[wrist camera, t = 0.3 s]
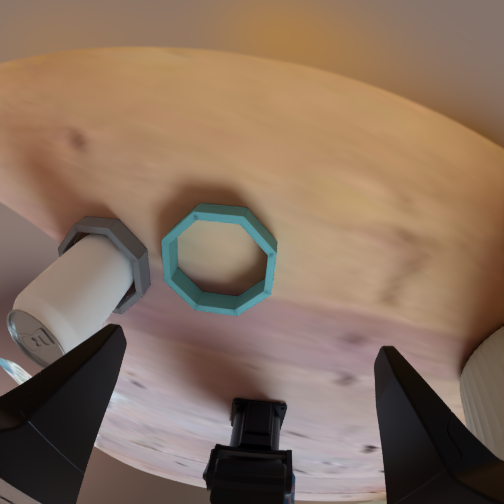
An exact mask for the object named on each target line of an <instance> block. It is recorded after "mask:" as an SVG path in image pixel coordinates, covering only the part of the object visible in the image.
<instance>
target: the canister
mask: <svg viewBox="0 0 504 504" xmlns="http://www.w3.org/2000/svg"><path fill="white" fill-rule="evenodd" d="M460 396H461V401H462V406H463V411H464V416H465V421H466V425H467V429H468V430H469V431H470V432H471V433H472V434H473V435H474V436H475V437H476V438H477V439H478V440H480V441H481V442H482V443H483V444H484V445H485V446H486V447H487V448H488V449H489V450H490V451H491V452H492V453H493V454H494V455H495V456H497V457H498V458H500V459H501V460H503V461H504V327H501V328H500V329H499V330H497V331H495V332H494V333H493V334H492V335H490V336H489V337H488V338H487V339H486V340H484V342H483V343H482V344H481V345H479V347H478V348H477V349H476V350H475V351H474V353H473V354H472V355H471V356H470V358H469V360H468V361H467V362H466V365H465V367H464V369H463V372H462V374H461V379H460Z"/></svg>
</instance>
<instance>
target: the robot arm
mask: <svg viewBox="0 0 504 504" xmlns="http://www.w3.org/2000/svg"><path fill="white" fill-rule="evenodd" d="M126 345H127V343H126V338H125V336H124V333H123V330H122V327H121V326H120V325H118V324H112V323H111V324H108V325H107V326H105V327H104V328H102V329H101V330H99V331H98V332H96V333H95V334H94V335H92V336H91V337H89V338H88V339H86V340H85V341H83V342H82V343H80V344H79V345H78V346H76V347H75V348H73V349H72V350H70V351H69V352H67V353H66V354H65V355H63V356H62V357H60V358H59V359H57V360H56V361H54V362H53V363H52V364H50V365H49V366H47V367H46V368H44V369H43V370H42V371H41V372H39V373H37V374H36V375H35V376H33V377H32V378H30V379H29V380H27V381H26V382H24V383H23V384H21V385H19V386H18V387H16V388H14V389H13V390H11V391H9V392H8V393H6V394H4V395H3V396H1V397H0V504H76V501H77V498H78V494H79V491H80V487H81V484H82V481H83V478H84V473H85V471H86V467H87V464H88V460H89V458H90V455H91V452H92V448H93V446H94V443H95V440H96V437H97V434H98V431H99V428H100V426H101V423H102V420H103V417H104V414H105V412H106V409H107V406H108V403H109V401H110V398H111V395H112V393H113V390H114V388H115V385H116V382H117V379H118V375H119V371H120V368H121V364H122V360H123V357H124V353H125V350H126ZM374 375H375V395H376V409H377V416H378V423H379V430H380V438H381V446H382V454H383V463H384V473H385V484H386V497H387V504H504V461H503V460H501V459H500V458H498V457H497V456H495V455H494V454H493V453H492V452H491V451H490V450H489V449H488V448H487V447H486V446H485V445H484V444H483V443H482V442H481V441H480V440H478V439H477V438H476V437H475V436H474V435H473V434H472V433H471V432H470V431H469V430H468V429H467V428H466V427H465V425H464V424H463V423H462V422H461V421H460V420H459V419H458V418H457V417H456V415H455V414H454V413H453V412H451V410H450V409H449V407H448V406H447V405H446V404H445V403H444V402H443V400H442V399H441V398H440V397H439V396H438V395H437V394H436V393H435V391H434V390H433V389H432V388H431V387H430V386H429V385H428V384H427V382H426V381H425V380H424V379H423V378H422V377H421V376H420V375H419V373H418V372H417V371H416V370H415V369H414V368H413V367H412V366H411V365H410V364H409V362H408V361H407V360H406V359H405V358H404V357H403V356H402V355H401V354H400V353H399V351H398V350H397V349H396V348H395V347H394V346H382V347H381V348H380V351H379V353H378V355H377V358H376V360H375V363H374ZM286 410H287V405H286V404H282V403H271V402H261V401H252V400H244V399H233V403H232V420H231V426H232V427H233V430H232V436H231V441H230V446H225V445H221V444H216V446H215V449H212V450H211V454H210V459H209V462H208V464H207V466H206V469H205V471H204V473H203V479H204V480H205V481H206V485H207V491H210V492H211V494H210V502H211V504H284V498H290V495H291V488H292V450H279V436H280V429H281V426H282V423H283V420H284V417H285V413H286Z"/></svg>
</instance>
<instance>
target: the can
mask: <svg viewBox="0 0 504 504" xmlns="http://www.w3.org/2000/svg"><path fill="white" fill-rule="evenodd" d="M133 281H134V273H133V266H132V261H131V260H130V259H129V258H128V257H127V256H126V255H125V254H124V253H123V252H122V251H121V250H120V249H119V248H118V247H117V246H116V245H115V244H114V242H113V241H112V240H111V239H110V238H109V237H108V236H107V235H105V234H96V233H90V234H88V235H87V236H85V237H84V238H82V239H81V240H80V241H79V242H77V243H76V244H75V245H74V246H72V247H71V248H70V249H69V250H68V251H66V252H65V253H64V254H63V255H62V256H61V257H59V258H58V259H57V260H56V261H55V262H54V263H52V264H51V265H50V266H49V267H48V268H47V269H46V270H44V271H43V272H42V273H41V274H40V275H39V276H38V277H37V278H36V279H35V280H34V281H32V282H31V283H30V284H29V285H28V286H27V287H26V288H25V289H24V290H23V291H22V292H21V293H20V294H19V296H18V297H17V298H16V300H15V303H14V306H13V309H12V311H10V312H9V313H8V315H7V327H8V330H9V332H10V335H11V337H12V338H13V340H14V342H15V343H16V345H17V346H18V347H19V349H20V350H21V351H22V352H23V353H24V354H25V355H26V356H27V357H28V358H29V359H30V360H31V361H32V362H33V363H35V364H36V365H38V366H39V367H41V368H43V369H44V368H46V367H47V366H49V365H50V364H52V363H53V362H54V361H56V360H57V359H59V358H60V357H62V356H63V355H65V354H66V353H67V352H69V351H70V350H72V349H73V348H75V347H76V346H78V345H79V344H80V343H82V342H83V341H85V340H86V339H88V338H89V337H91V336H92V335H94V334H95V333H96V332H98V331H99V330H100V329H101V327H102V326H103V324H104V323H105V321H106V320H107V319H108V317H109V316H110V314H111V313H112V311H113V310H114V309H115V307H116V306H117V305H118V303H119V302H120V300H121V299H122V298H123V296H124V295H125V293H126V292H127V291H128V289H129V288H130V286H131V285H132V283H133Z"/></svg>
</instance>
